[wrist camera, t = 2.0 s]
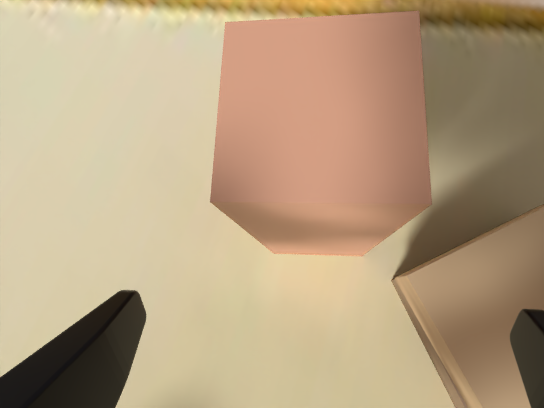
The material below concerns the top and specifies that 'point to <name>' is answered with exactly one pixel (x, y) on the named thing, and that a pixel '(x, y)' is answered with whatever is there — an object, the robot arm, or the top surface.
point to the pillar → (322, 131)
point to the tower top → (481, 307)
